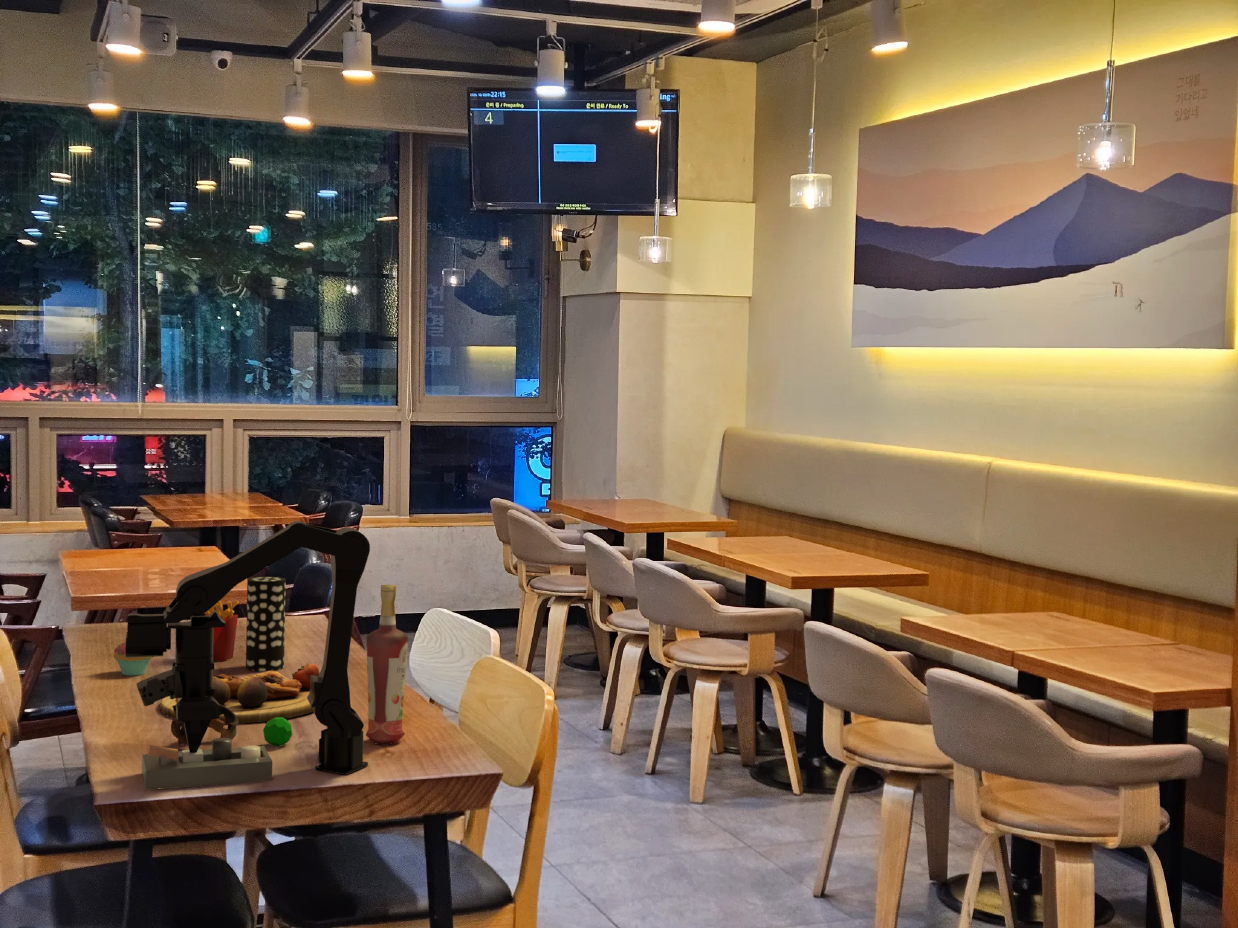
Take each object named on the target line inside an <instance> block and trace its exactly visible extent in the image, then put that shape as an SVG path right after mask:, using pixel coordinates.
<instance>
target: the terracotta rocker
mask: <svg viewBox="0 0 1238 928" xmlns="http://www.w3.org/2000/svg"><path fill="white" fill-rule="evenodd" d="M178 752H179V751H178V748H171V747H165V746H160V745H153V744H149V745H148V748H147V754H148V755H149V756H155V757H161V755H166V758H167V759H174V760H177V759H178V755H179V753H178Z"/></svg>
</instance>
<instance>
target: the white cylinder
mask: <svg viewBox="0 0 1238 928" xmlns="http://www.w3.org/2000/svg"><path fill="white" fill-rule="evenodd" d="M259 746H260V745H245V746H242V748H241V759H243V758H257V757H260V747H259Z"/></svg>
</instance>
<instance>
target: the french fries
mask: <svg viewBox="0 0 1238 928" xmlns="http://www.w3.org/2000/svg"><path fill="white" fill-rule="evenodd" d="M239 604H240V602H239V600H236V601H234V602H233V603H232V601H231V600H230V601H227V608H226V609H225V610H224V607H223V605H224V604H223V602H222V601H221V600H220V601H219V602H218V603H216V604H215V605H214V606H213V607H212V608H210V609H209V610H208V611H207V612H205V613H203V615H204V614H205V616H209V615H210V614H211V613H212V612H213V611H216V612H217V614H218V615H219V616H220V617H221V618H222V619H224V620H225V623H226V626H225V627H215V628H213V662H214V661H215V662H219V661H220V662H226V661H228V660H230V659H232V658H234V651H235V644H236V643H235V642H236V634H237V627H238V618H239V614H234V613H235V610H234V608H235V607H236V606H237V605H239ZM227 659H228V660H227Z"/></svg>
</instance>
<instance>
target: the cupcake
mask: <svg viewBox="0 0 1238 928" xmlns="http://www.w3.org/2000/svg"><path fill="white" fill-rule="evenodd" d="M113 658H114V659H115V660H116V662H117V664H118V666H119V669H120V671H121V675H123V676H135V677H136V676H141V675H144V674H146V672H147V669H148V666H149V663H150V660H151V659H152V658H154V657H130V658H126V641H125V642H123V643H120V644H119V645H117V647H115V648H114V652H113Z"/></svg>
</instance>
